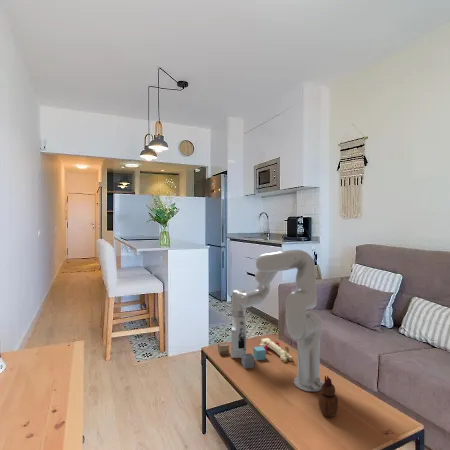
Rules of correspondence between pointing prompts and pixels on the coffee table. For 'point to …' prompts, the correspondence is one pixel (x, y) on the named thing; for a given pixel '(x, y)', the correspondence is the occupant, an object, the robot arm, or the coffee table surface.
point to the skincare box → (234, 345)
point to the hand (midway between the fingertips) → (238, 344)
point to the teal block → (259, 353)
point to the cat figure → (276, 349)
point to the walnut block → (223, 348)
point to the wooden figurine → (328, 399)
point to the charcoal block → (248, 360)
